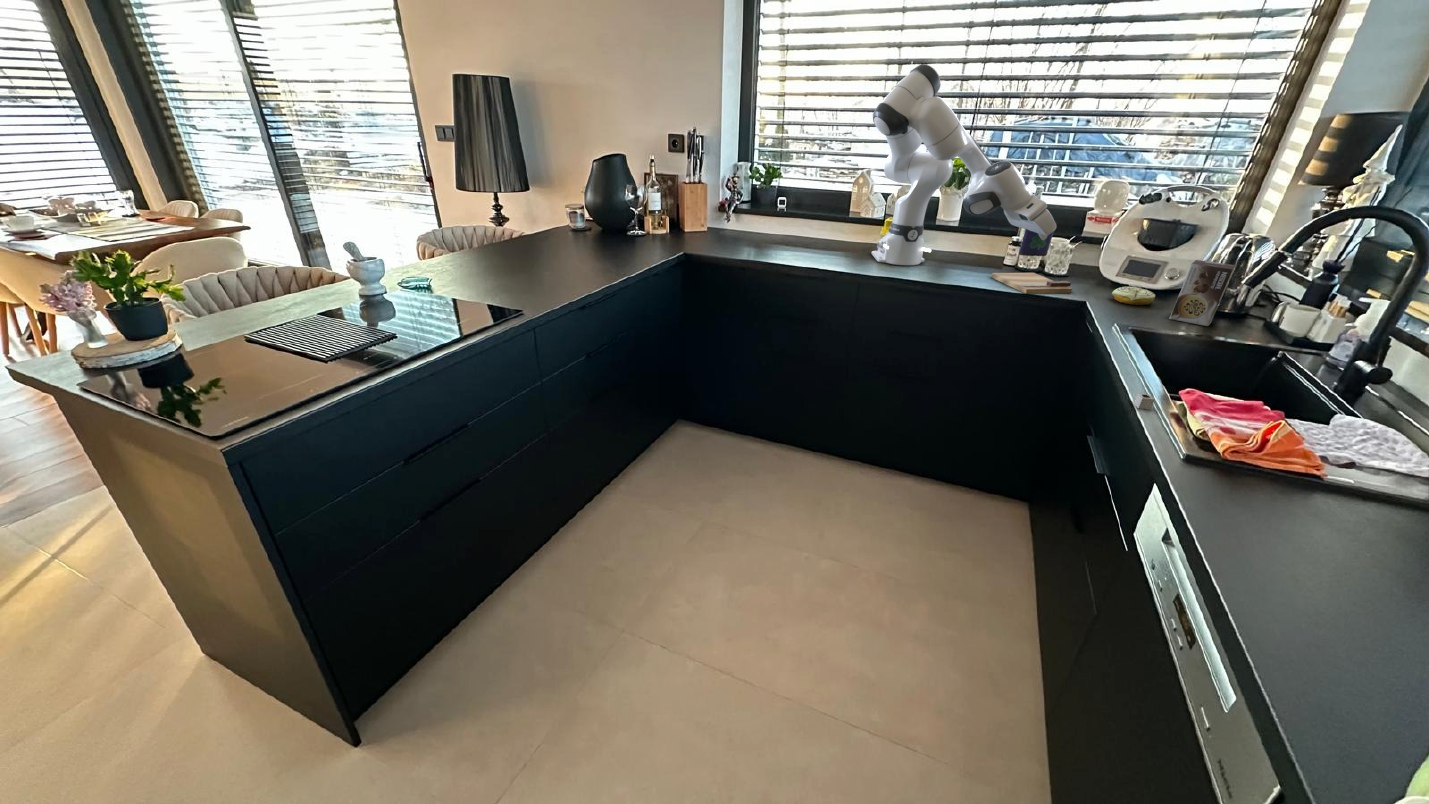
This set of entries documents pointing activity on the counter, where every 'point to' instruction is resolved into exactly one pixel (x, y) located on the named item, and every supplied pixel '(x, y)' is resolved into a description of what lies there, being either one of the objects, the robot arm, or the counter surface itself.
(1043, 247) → the flask
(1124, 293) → the decorated donut
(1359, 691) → the counter surface
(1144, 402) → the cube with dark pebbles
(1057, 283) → the knife
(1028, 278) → the cutting board
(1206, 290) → the coffee box
